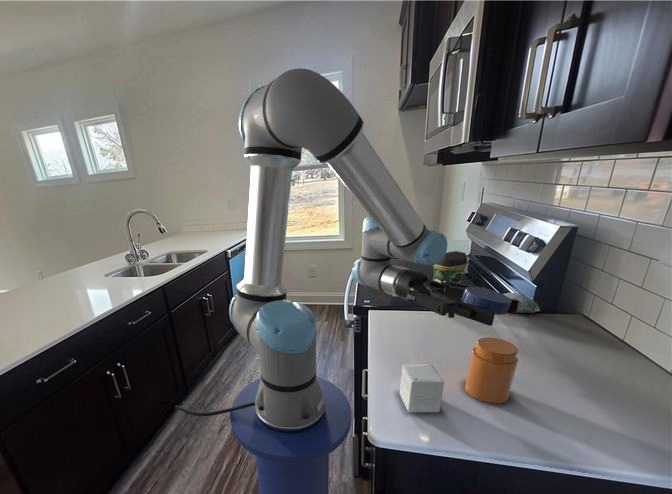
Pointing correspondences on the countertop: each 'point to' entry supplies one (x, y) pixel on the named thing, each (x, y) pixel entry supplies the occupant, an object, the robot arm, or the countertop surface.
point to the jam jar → (491, 370)
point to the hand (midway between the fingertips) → (505, 312)
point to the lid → (487, 299)
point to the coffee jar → (451, 268)
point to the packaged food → (523, 303)
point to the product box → (421, 388)
